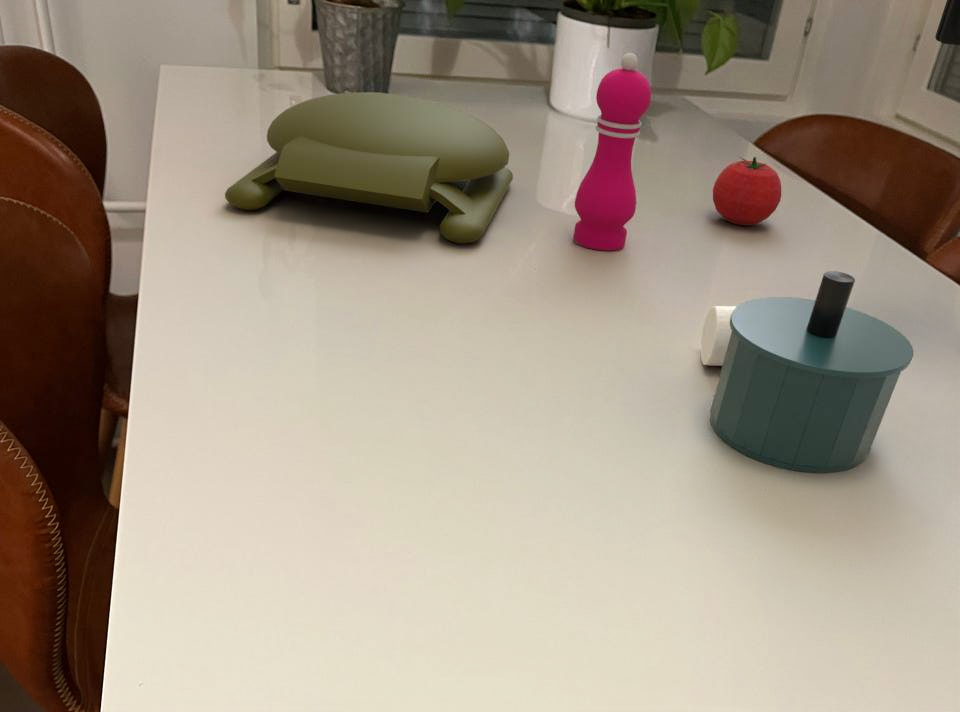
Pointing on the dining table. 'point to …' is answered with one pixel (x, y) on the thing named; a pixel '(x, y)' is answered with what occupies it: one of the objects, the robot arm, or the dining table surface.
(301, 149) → the spaceship
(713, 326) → the white bottle
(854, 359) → the pot lid
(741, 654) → the dining table surface
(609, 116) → the pepper mill
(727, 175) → the tomato
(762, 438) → the pot
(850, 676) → the dining table surface
